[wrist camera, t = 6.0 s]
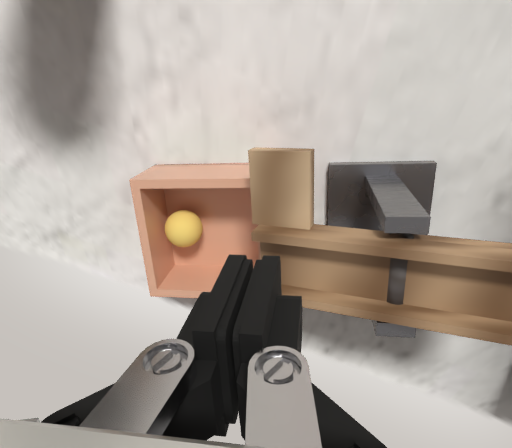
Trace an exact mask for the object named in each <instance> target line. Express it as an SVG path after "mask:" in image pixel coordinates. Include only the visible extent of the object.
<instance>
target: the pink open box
mask: <svg viewBox="0 0 512 448" xmlns="http://www.w3.org/2000/svg"><path fill="white" fill-rule="evenodd" d="M129 181H130V186H131V192H132V197H133V203H134V208H135V214H136V219H137V225H138V230H139V236H140V241H141V247H142V253H143V258H144V264H145V269H146V275H147V280H148V286H149V291H150V296H155V297H181V298H198V297H199V295H200V294H201V293H202V292H211V290H212V288H213V286H214V284H215V282H216V280H217V278H218V276H219V274H220V272H221V270H222V268H223V266H224V264H225V262H226V259H227V257H228V256H229V254H231V255H246V256H247V259H252V261H253V268H254V265H255V262H256V260H261V249H260V242H257V241H252V236H251V232H252V231H253V230H254V229H255V228H256V227H257V226H258V225H259V224H252V208H251V190H250V173H249V163H221V164H167V165H154V166H152V167H151V168H149V169H147V170H145V171H144V172H142V173H140V174H139V175H137V176H135V177H133V178H132V179H130V180H129ZM179 210H188V211H191V212H193V213H195V214H196V215H197V216H198V217H199V218H200V220H201V222H202V226H203V231H202V235H201V237H200V239H199V240H198V241H197V242H196V243H195V244H194V245H192V246H189V247H178V246H176V245H174V244H172V243H171V242H170V241H169V240H168V238H167V237H166V234H165V223H166V221H167V219H168V217H169V216H170V215H171V214H173V213H174V212H176V211H179Z"/></svg>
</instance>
